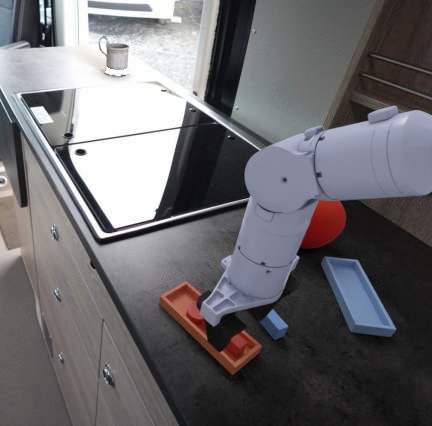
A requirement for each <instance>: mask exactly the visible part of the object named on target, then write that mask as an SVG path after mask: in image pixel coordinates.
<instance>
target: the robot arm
mask: <svg viewBox="0 0 432 426" xmlns="http://www.w3.org/2000/svg"><path fill="white" fill-rule="evenodd" d="M367 119H368V120H365V121H361V122H357V123H352V124H348V125H343V126H339V127H334V128H330V129H327V130H325V126H324V125H317V126H313V127H310V128H307V129H306V130H305V131H304V132H302V133H301V132H300V133H298V134H294V135H292V136H290V137H288V138H287V137H286V138H285V139H283V140H279V141H278V142H275V143H273V144H270V145H268V146H265V147H263V148H262V149H260V150H259V151H257V152H255V153H254V154H252V156H250V158H249V159H248V161H247V162H246V164H245V165H246V166H245V169H244V183H245V186H246V187H245V188H246V190H247V191H248V194H249V199H248V202H247V205H246V208H245V212H244V215H243V219H242V222H241V225H240V229H239V232H238V235H237V238H236V242H235V246H234V249H233V252H232V254H230V255H227V256H226V257H224V258H223V259H221V261H220V266H221V268H222V269H224V272H223V274H222V276H221V277H220V279H219V280H218V282H217V284H216V286H215V287H214V289H213V291H211V290H210V289H207V290H206V291H205V292H203V293H201V294H202V295H200V296H199V297H198V299H197V303H196V306H197V308H198V310H199V311H200V315H201V316H202V317H203V319H204V322H205V326H206V333H207V342H209V343H210V344H211V345H212V346H213V347H214V348H215V349H216V350H217V351H218V352H221V351H223V350H224V349H225V348H226V347H227V346H228V345H229V343H230V341H231V340H232V338H233V337H234V336H236V335H237V334H239V333H240V332H242V331H243V330H244V331H245V330H246V329H247V328H248V327H249V326H248V325H247V324H246V323H245V322H244V321H243V320H242V319H240V317H238V316H237V312H240V311H244V310H246V312H247V313H248V314H249V315H251V316H252V317H254V318H255V319H256V320H257V321H258V320H259V321H261V320H263V319H264V318H265V317H266V316H267V315H268V314H269V313H270V312H271V310H272V309H273V310H274V309H275V307H276V306H277V305H278V304H279V302H280V301H282V300H283V298H285V297H287V296H290V295H291V294H292V293H294V292H295V291H297V289H299V287H300V281H299V280H298V279H297V278H296V277H295V276H293V275H291V272H292V271H294V270H295V269H296V266H297V264H298V262H299V260H300V256H298V255H297V254H298V252H299V249H300V248H299V247H300V245H301V242H302V240H303V238H304V235H305V233H306V231H307V229H308V226H309V224H310V221H311V218H312V215H313V213H314V211H315V208H316V206H317V204H318V201H319V200H324V201H340V202H342V201H355V200H356V201H357V200H372V199H386V198H387V199H389V198H405V197H407V198H408V197H420V196H427V195H429V194H431V193H432V114H430V113H427V112H425V111H423V110H418V109H415V110H410V111H405V112H400V113H399V108H398V106H397V105H392V106H391V105H390V106H387V107H383V108H380V109H376V110H374V111H371V112H369V113H368V114H367ZM259 321H258V322H259Z"/></svg>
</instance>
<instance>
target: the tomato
mask: <svg viewBox="0 0 432 426" xmlns="http://www.w3.org/2000/svg"><path fill="white" fill-rule="evenodd" d="M346 223H347V213H346V209H345V208H344V206H343V204H342V201H324V200H319V201H318V204H317V206H316V208H315V211H314V213H313V215H312V218H311V221H310V224H309V226H308V229H307V231H306V233H305V235H304V238H303V240H302V242H301V245H300V247H299V249H304V250H305V249H317V248H321V247H324V246H326V245H328V244H329V243H332V241H334V240H335V239H336V238H338V237H339V236H340V234H341V233H342V232H343V231H344V229H345V227H346Z"/></svg>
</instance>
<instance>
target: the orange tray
mask: <svg viewBox="0 0 432 426" xmlns="http://www.w3.org/2000/svg"><path fill="white" fill-rule="evenodd" d="M202 294H203V293H201V292H200V291H199V290H198V289H197V288H196V287H194V286H193V285H192V284H191V283H190V282H188V281H187V280H185V281H183V282H181V283H180V284H178V285H176V286H174V287H173V288H172V289H170V290H168V291H166V292H165V293H163V294H161V295H160V296H159V303H158V304H159V305H160V306H161V307H162V308H163V309H164V310H165V311H166V312H167V313H168V314H169V315H170V316H171V317H172V318H173V319H174V320H175V321H176V322H177V323H178V324H179V325H180V326H182V328H183V329H185V331H187V333H189V334H190V336H192V337H193V338H194V339H195V340H196V341H197V342H198V343H199V345H201V346H202V347H203V348H204V349H205V350H206V351H207V352H208V353H209V354H210V355H211V357H213V358H214V359H215V360H216V361H217V362H218V363H219V364H220V365H221V366H222V367H223V368H224V369H225V370H226V371H228V373H230V374H231V375H232V376H234V375H235V374H236V373H237V372H239V371H240V370H241V369H242V368H243V367H244V366H245V365H247V364H248V363H249V362H251V360H252V359H254V358H255V357H256V356H258V354H259V353H260V351H261V350H262V347H263V345H262V344H260V343H259V342H258V341H257V340H256V339H255V338H254V337H252V335H250V334H249V333H248V332H247V331H245V329H244V330H243V331H242V332H240V333H239V335H240V336H241V337H242V338H243V339H245V340H246V341H247V342H248V343H247V346H246V348H245V351H244V353H242V354H241V355H240V356H239V357H238V358H235V357H234V356H233V355H231V354H230V353H229V352H228V351H227V350H226V349H224V350H223V351H221V352H218V351H217V350H216V349H215V348H214V347H213V346H212V345H211V344H210V343H209V342H207V333H206V330H205V329H204V328H202V327H201V325H196V324H193V323H192V322H191V321H190V320H189V319H188V318H187V317H186V311H187V307H188V305H189V304H191V303H193V302H197V299H198V297H199V296H200V295H202Z"/></svg>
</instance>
